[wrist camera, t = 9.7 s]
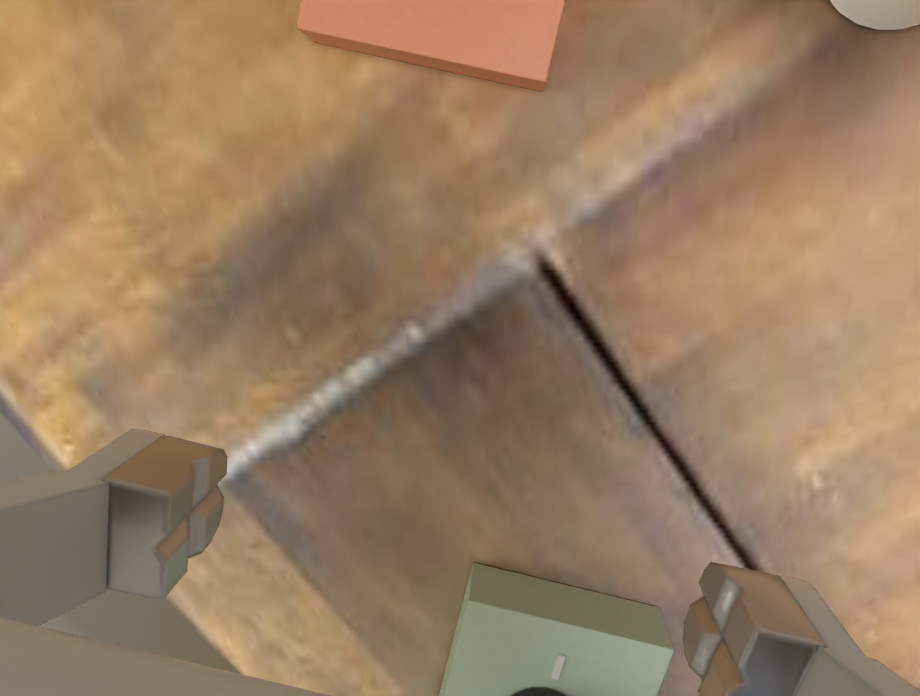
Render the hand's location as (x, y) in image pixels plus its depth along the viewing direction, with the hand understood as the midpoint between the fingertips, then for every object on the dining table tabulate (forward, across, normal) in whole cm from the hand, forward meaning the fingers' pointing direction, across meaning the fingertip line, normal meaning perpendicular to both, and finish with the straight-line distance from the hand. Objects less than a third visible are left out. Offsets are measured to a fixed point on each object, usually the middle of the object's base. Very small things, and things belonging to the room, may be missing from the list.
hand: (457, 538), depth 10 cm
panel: (+18, -7, +20) cm, 27 cm away
